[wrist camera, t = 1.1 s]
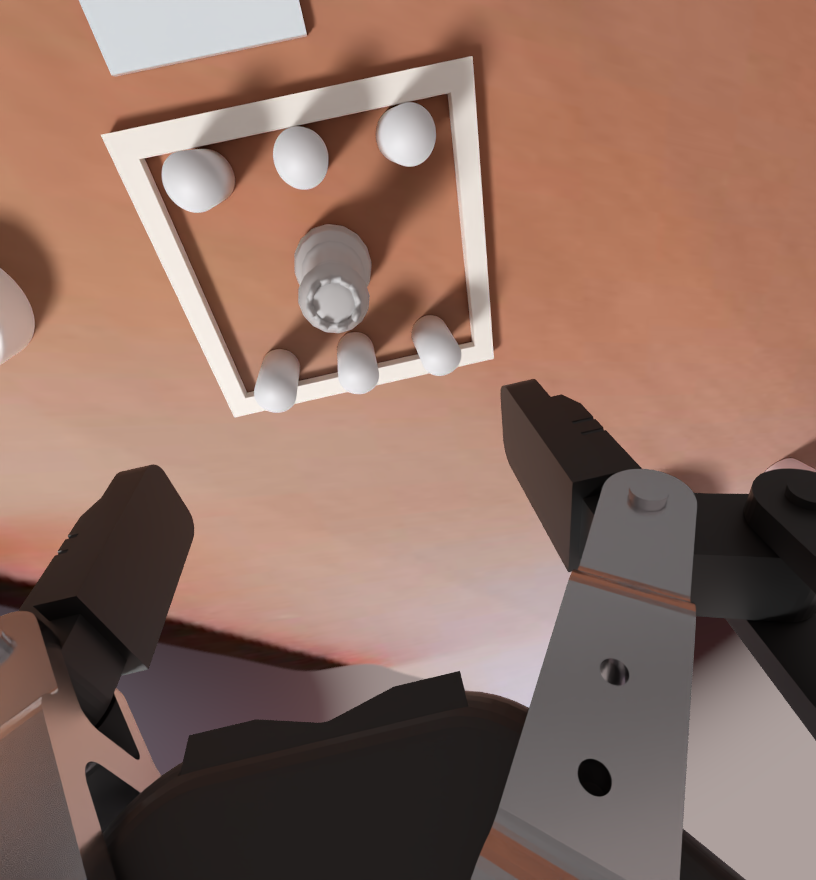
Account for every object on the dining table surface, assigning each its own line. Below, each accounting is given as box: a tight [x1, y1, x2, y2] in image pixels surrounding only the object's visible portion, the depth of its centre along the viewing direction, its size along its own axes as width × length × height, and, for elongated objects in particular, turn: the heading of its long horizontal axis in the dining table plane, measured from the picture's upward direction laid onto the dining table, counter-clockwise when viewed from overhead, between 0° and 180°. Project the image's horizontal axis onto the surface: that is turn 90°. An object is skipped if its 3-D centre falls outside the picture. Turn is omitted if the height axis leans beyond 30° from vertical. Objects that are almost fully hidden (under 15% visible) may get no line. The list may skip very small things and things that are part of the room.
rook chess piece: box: [295, 224, 371, 333], centre depth 23 cm, size 4×4×8 cm
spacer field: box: [101, 56, 494, 417], centre depth 25 cm, size 18×16×4 cm
